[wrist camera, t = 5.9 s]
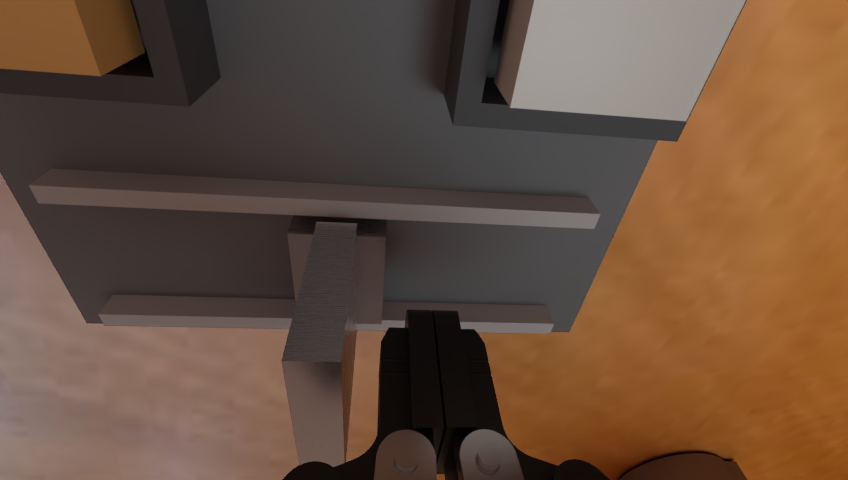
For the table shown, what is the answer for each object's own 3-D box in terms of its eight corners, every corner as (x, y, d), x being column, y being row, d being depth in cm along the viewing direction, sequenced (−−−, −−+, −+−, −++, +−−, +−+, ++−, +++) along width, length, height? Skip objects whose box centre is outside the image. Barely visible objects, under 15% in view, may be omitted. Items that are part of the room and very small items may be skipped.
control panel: (751, -247, 10) (990, -357, 6) (549, 285, 21) (587, 374, 17) (-181, -416, 8) (-762, -755, 4) (125, 272, 19) (51, 370, 15)
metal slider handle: (387, 203, 14) (384, 362, 9) (381, 309, 17) (377, 472, 12) (292, 198, 13) (235, 360, 8) (304, 307, 16) (267, 474, 11)
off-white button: (731, -109, 8) (803, -116, 7) (646, 94, 11) (686, 121, 9) (535, -138, 8) (567, -149, 6) (493, 81, 10) (510, 107, 9)
